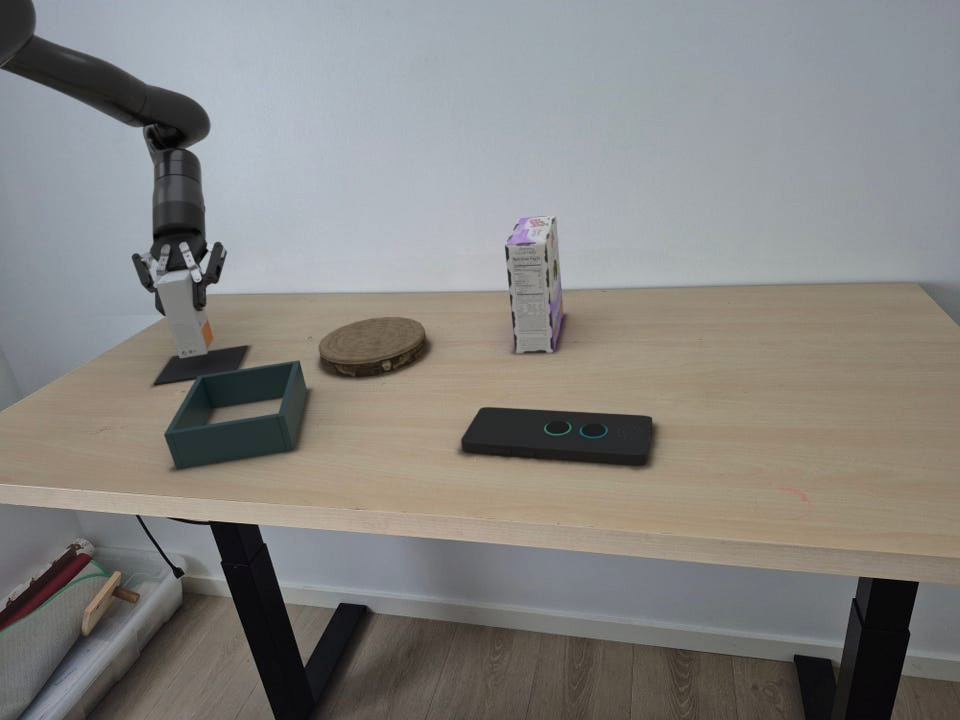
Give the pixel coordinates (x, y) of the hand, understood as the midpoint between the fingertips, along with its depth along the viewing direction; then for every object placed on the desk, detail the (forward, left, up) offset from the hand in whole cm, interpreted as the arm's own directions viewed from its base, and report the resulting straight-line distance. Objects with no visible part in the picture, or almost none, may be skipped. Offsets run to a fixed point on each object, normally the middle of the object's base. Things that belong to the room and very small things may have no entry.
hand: (181, 311), depth 103 cm
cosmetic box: (0, +2, -7) cm, 8 cm away
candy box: (+52, -6, -10) cm, 53 cm away
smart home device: (+48, -36, -10) cm, 61 cm away
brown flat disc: (+27, -4, -10) cm, 29 cm away
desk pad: (0, +2, -10) cm, 10 cm away
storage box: (+11, -21, -10) cm, 26 cm away
